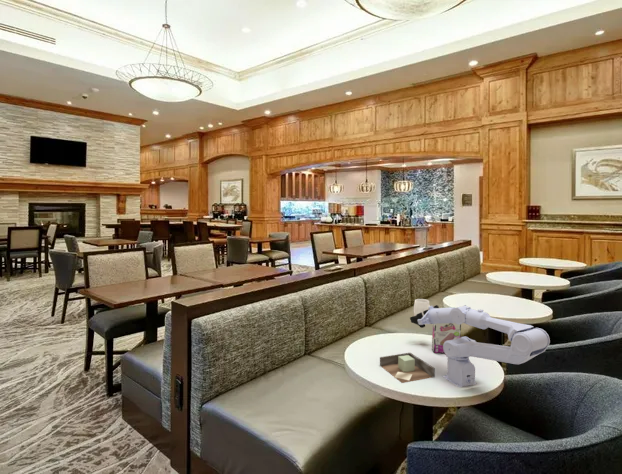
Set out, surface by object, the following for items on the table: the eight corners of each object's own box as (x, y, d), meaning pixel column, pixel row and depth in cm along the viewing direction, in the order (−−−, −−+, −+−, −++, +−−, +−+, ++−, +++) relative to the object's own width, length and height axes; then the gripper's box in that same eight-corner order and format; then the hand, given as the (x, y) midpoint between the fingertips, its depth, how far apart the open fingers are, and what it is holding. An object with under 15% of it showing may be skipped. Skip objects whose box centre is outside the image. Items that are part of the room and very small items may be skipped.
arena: (434, 378, 141) (434, 368, 141) (400, 384, 136) (401, 374, 136) (409, 361, 156) (410, 352, 156) (378, 367, 151) (379, 357, 151)
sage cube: (414, 370, 147) (414, 359, 146) (404, 372, 145) (404, 360, 145) (408, 365, 151) (408, 354, 150) (398, 367, 149) (398, 356, 149)
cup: (411, 342, 179) (411, 298, 177) (426, 341, 179) (426, 298, 177) (416, 347, 172) (416, 302, 170) (431, 347, 172) (432, 302, 170)
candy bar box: (434, 353, 165) (434, 316, 163) (431, 349, 170) (432, 313, 168) (460, 354, 164) (461, 317, 162) (457, 350, 169) (458, 313, 167)
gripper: (451, 299, 148) (426, 301, 160) (426, 311, 141) (402, 313, 153) (457, 317, 148) (432, 318, 159) (432, 330, 140) (407, 330, 152)
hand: (417, 316), depth 156 cm, fingers open, 7 cm apart
